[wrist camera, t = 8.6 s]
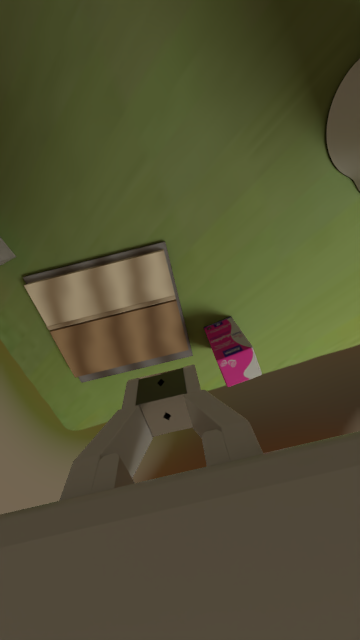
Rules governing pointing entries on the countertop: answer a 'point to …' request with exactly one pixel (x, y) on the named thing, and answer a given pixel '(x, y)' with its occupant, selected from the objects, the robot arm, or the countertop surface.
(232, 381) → the supplement box
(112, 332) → the walnut plank
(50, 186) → the countertop surface
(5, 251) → the white food carton
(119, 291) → the floor board
